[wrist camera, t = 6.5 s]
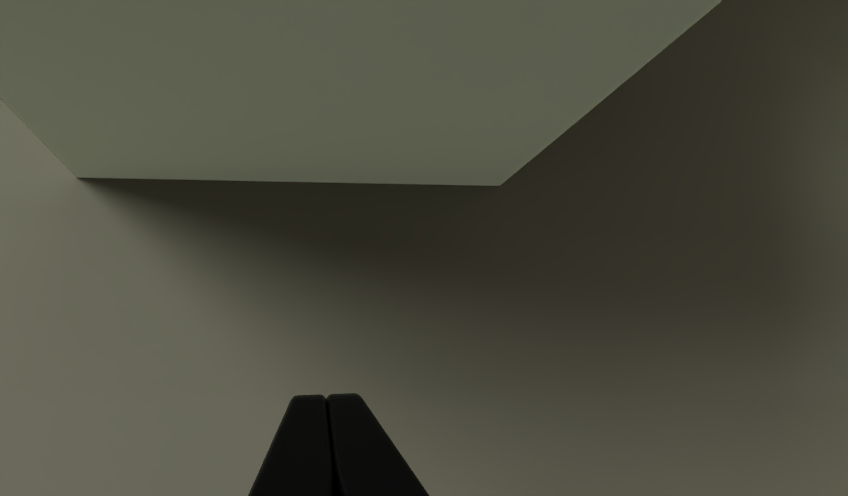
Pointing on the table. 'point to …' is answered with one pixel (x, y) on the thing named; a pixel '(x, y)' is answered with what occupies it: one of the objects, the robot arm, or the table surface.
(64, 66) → the green block
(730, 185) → the table surface
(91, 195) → the table surface
